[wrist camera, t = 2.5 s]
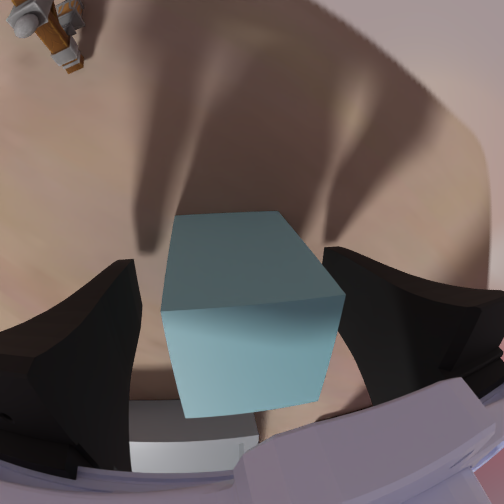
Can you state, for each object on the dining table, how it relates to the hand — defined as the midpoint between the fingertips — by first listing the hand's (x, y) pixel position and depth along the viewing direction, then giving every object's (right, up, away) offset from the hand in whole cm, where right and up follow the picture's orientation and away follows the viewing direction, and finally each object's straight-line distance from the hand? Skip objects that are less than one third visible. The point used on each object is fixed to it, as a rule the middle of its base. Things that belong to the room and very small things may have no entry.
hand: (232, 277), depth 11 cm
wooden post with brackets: (-6, +11, -5) cm, 14 cm away
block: (0, +1, +1) cm, 2 cm away
